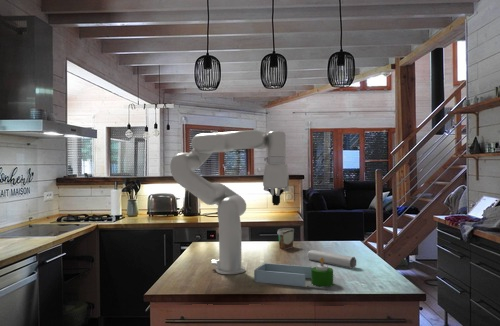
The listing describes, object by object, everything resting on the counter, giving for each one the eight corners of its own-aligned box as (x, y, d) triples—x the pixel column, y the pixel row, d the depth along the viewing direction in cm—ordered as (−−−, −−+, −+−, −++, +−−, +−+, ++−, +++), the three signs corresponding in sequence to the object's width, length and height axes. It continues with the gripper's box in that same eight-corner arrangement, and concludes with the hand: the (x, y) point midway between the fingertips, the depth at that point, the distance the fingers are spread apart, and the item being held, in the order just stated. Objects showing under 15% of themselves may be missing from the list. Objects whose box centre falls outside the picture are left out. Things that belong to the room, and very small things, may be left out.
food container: (284, 245, 233) (284, 227, 233) (294, 246, 229) (294, 228, 229) (272, 249, 223) (272, 230, 223) (282, 250, 219) (282, 231, 219)
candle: (337, 283, 159) (337, 257, 159) (324, 288, 153) (324, 261, 153) (320, 279, 165) (320, 254, 165) (306, 283, 160) (306, 257, 160)
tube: (303, 252, 198) (348, 260, 179) (310, 247, 201) (355, 254, 183) (306, 262, 199) (351, 271, 180) (313, 256, 202) (357, 265, 184)
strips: (306, 288, 154) (306, 286, 154) (314, 277, 168) (314, 275, 168) (325, 289, 151) (325, 288, 151) (332, 278, 166) (332, 277, 166)
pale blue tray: (254, 281, 162) (254, 270, 162) (264, 273, 174) (264, 262, 174) (304, 286, 155) (304, 274, 155) (311, 277, 167) (311, 266, 167)
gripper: (256, 160, 172) (256, 205, 172) (291, 161, 167) (291, 206, 167) (262, 160, 179) (262, 203, 179) (296, 161, 174) (295, 204, 174)
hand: (276, 204), depth 173 cm, fingers closed
